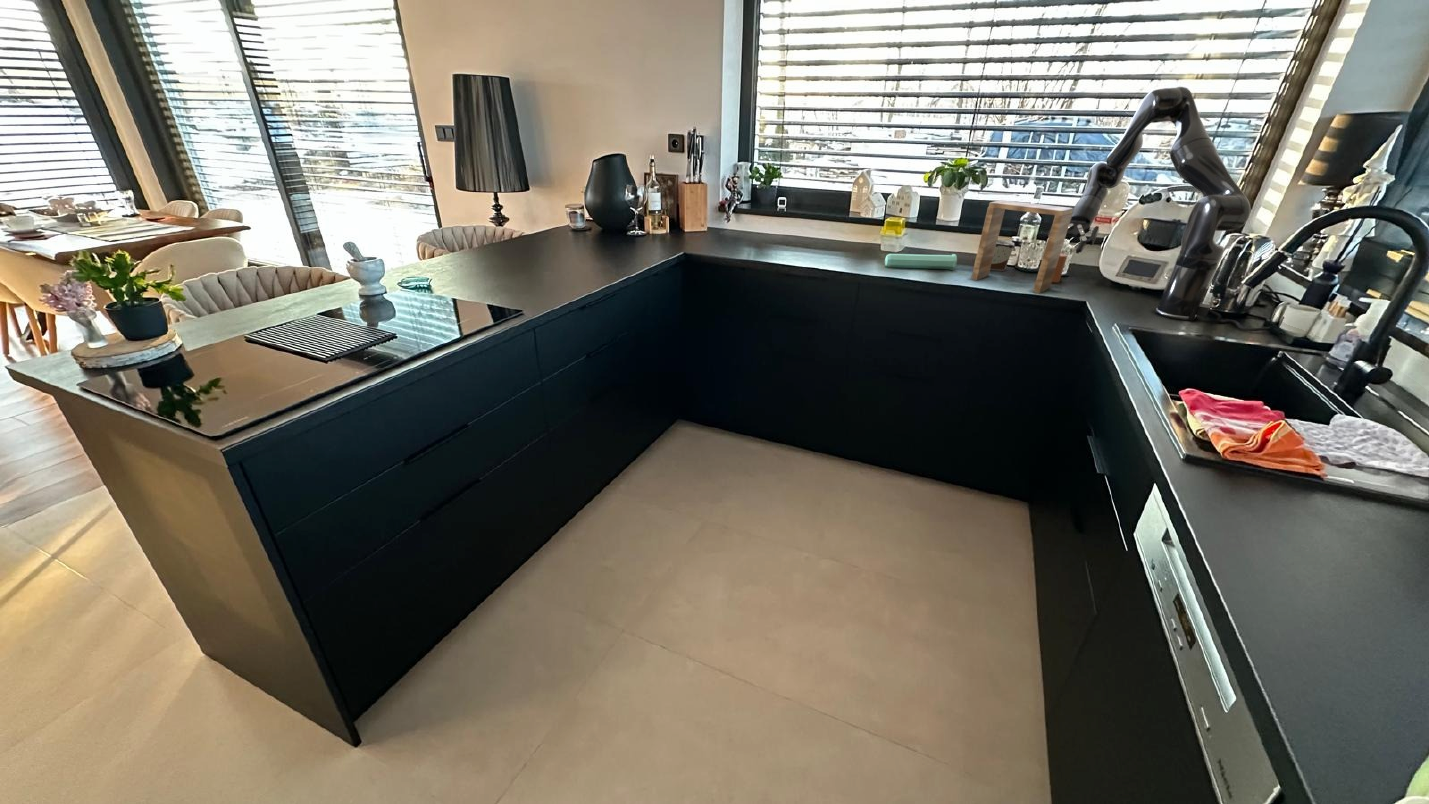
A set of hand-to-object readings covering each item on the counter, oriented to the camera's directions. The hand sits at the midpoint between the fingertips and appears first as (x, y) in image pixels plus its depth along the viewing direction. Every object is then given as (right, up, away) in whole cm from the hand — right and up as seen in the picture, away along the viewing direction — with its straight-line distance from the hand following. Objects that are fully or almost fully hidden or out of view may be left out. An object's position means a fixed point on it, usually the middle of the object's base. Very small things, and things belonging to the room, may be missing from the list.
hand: (1063, 249), depth 192 cm
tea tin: (-3, -10, +2) cm, 11 cm away
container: (-45, -3, +14) cm, 48 cm away
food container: (-18, -2, +17) cm, 24 cm away
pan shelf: (-20, -12, -3) cm, 24 cm away
